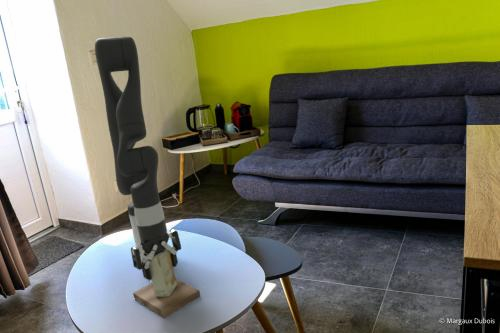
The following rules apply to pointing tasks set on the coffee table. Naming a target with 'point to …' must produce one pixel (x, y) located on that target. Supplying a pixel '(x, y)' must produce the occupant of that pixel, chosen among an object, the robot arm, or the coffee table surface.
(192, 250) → the coffee table surface
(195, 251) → the coffee table surface
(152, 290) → the walnut board
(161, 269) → the skincare box
